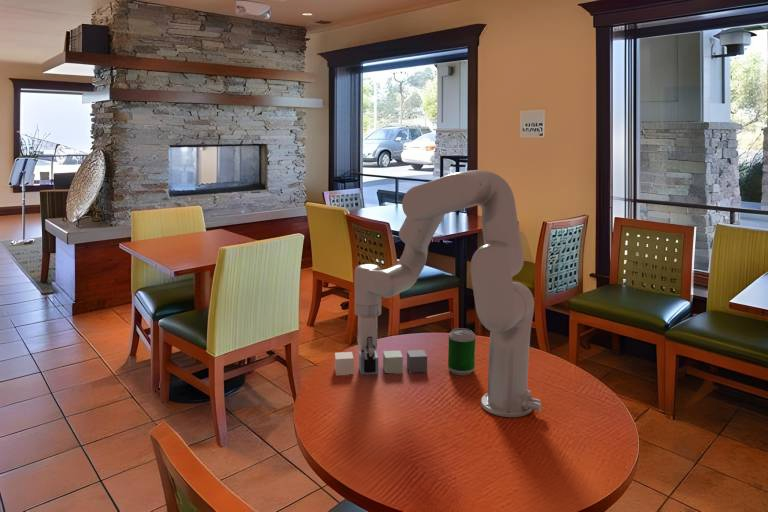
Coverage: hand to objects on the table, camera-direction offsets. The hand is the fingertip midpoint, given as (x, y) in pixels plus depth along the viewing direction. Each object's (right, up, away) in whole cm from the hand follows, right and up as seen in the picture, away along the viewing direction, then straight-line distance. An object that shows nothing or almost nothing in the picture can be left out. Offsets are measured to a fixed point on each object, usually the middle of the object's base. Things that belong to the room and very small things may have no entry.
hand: (368, 365), depth 163 cm
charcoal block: (+14, -2, +1) cm, 14 cm away
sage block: (+7, -2, +1) cm, 7 cm away
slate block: (0, -2, 0) cm, 2 cm away
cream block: (-7, -2, 0) cm, 7 cm away
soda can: (+27, -2, 0) cm, 27 cm away
